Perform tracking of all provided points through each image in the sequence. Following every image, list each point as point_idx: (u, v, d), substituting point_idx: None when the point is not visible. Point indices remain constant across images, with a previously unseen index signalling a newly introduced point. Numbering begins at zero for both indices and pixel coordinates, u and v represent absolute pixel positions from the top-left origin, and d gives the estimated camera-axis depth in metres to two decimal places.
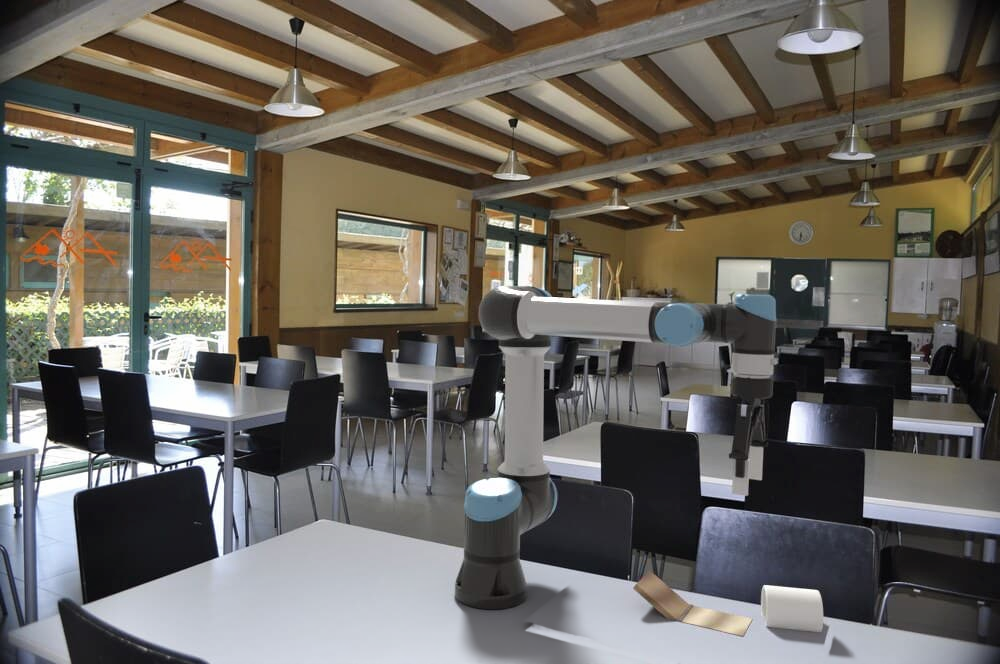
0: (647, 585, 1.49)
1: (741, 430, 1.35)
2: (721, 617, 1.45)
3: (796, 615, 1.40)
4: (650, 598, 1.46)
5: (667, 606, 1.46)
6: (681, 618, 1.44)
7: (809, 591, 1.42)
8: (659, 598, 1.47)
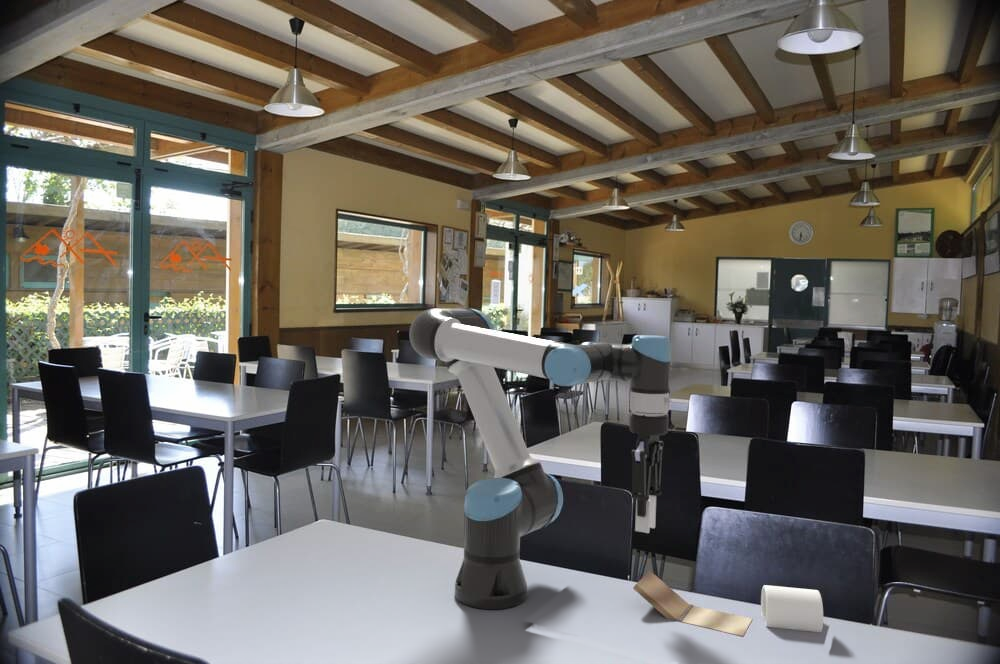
0: (647, 585, 1.49)
1: (638, 475, 1.45)
2: (721, 617, 1.45)
3: (796, 615, 1.40)
4: (650, 598, 1.46)
5: (667, 606, 1.46)
6: (681, 618, 1.44)
7: (809, 591, 1.42)
8: (659, 598, 1.47)
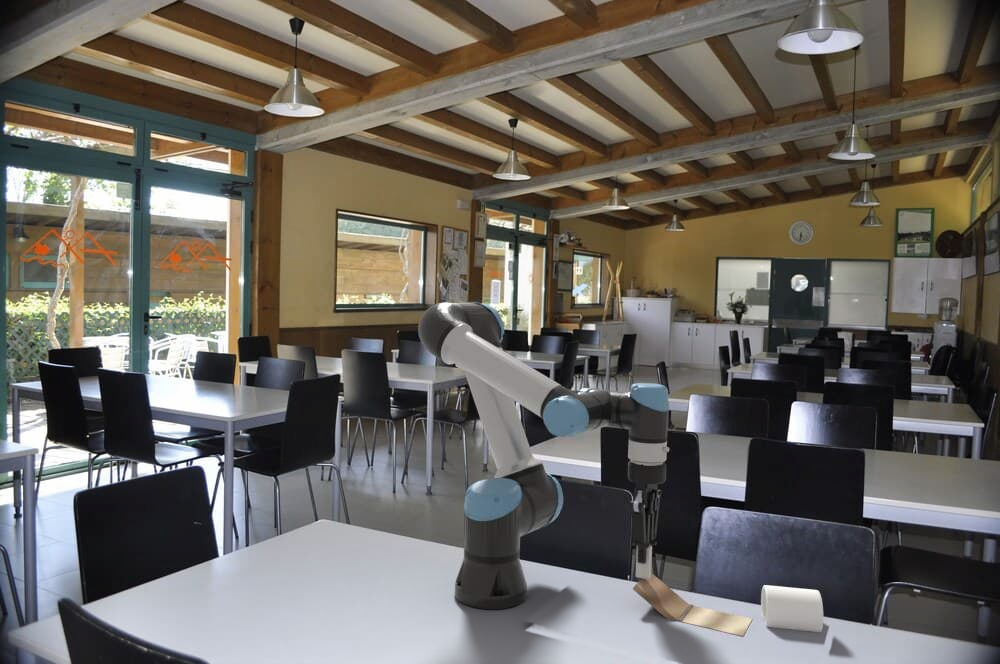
0: (647, 585, 1.49)
1: (637, 524, 1.46)
2: (721, 617, 1.45)
3: (796, 615, 1.40)
4: (650, 598, 1.46)
5: (666, 606, 1.46)
6: (681, 618, 1.44)
7: (809, 591, 1.42)
8: (659, 599, 1.47)
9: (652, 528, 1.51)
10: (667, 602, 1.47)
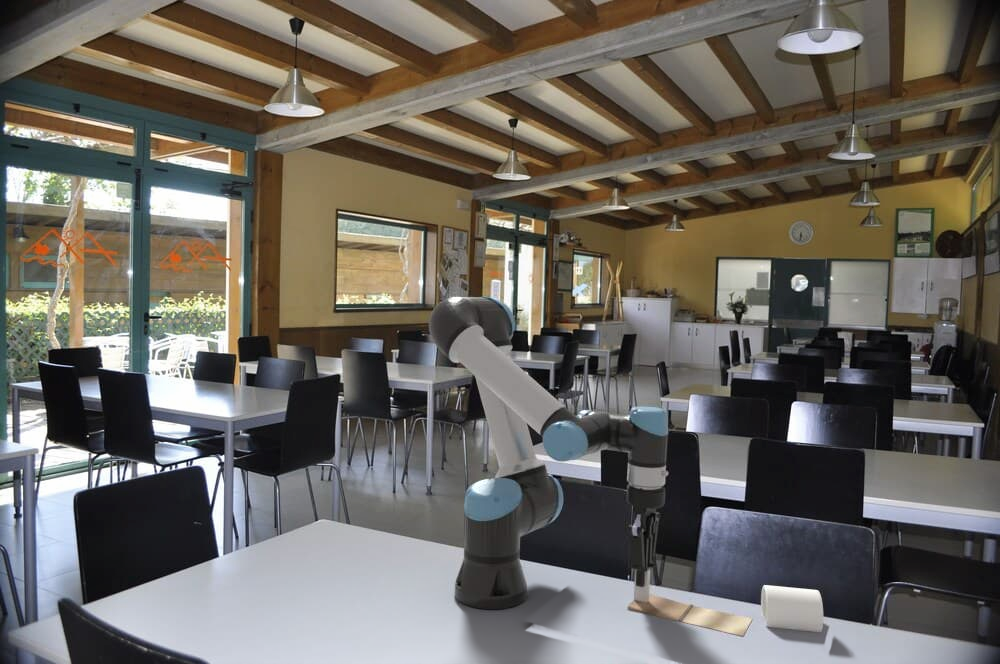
0: (640, 603, 1.50)
1: (636, 548, 1.46)
2: (721, 617, 1.45)
3: (796, 615, 1.40)
4: None
5: (664, 613, 1.46)
6: (681, 618, 1.44)
7: (809, 591, 1.42)
8: (655, 610, 1.47)
9: (650, 551, 1.51)
10: (664, 610, 1.48)
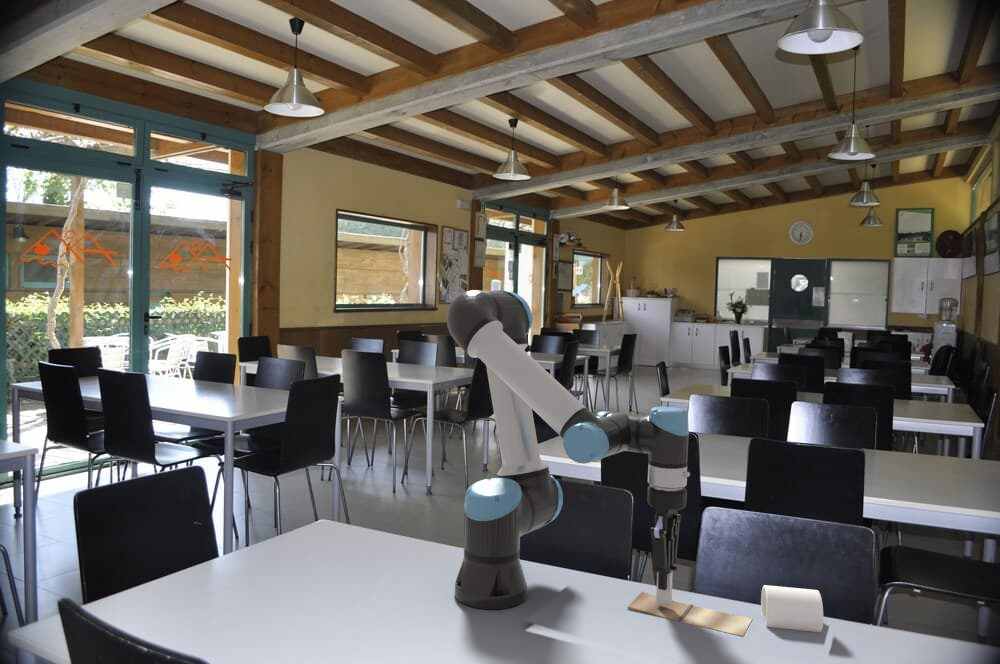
0: (640, 603, 1.50)
1: (658, 551, 1.44)
2: (721, 617, 1.45)
3: (796, 615, 1.40)
4: None
5: (664, 613, 1.46)
6: (681, 618, 1.44)
7: (809, 591, 1.42)
8: (655, 610, 1.47)
9: (672, 554, 1.49)
10: (664, 610, 1.48)
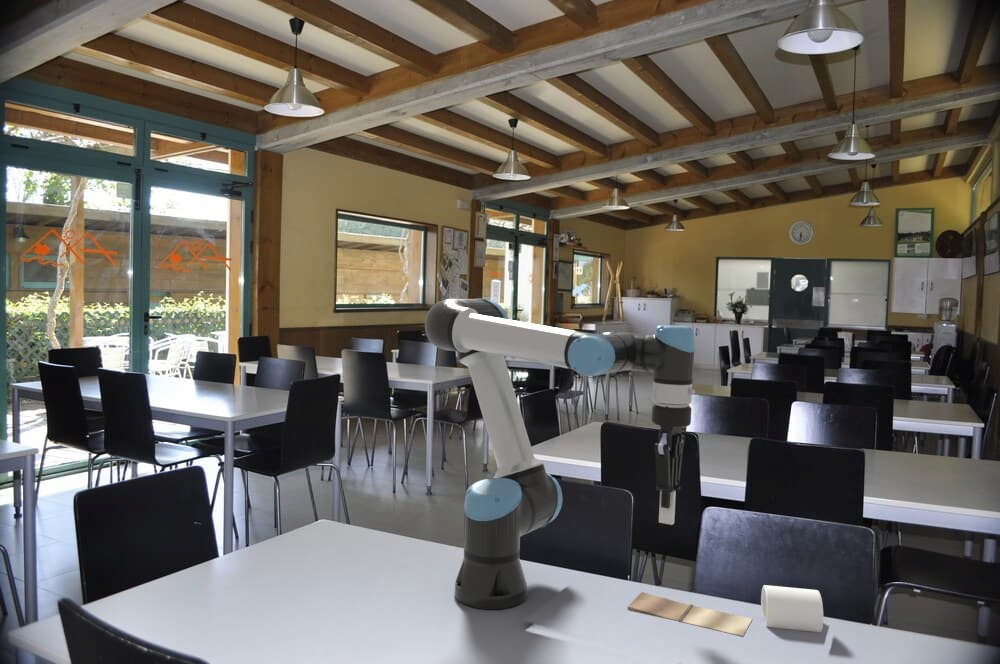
0: (640, 603, 1.50)
1: (662, 467, 1.43)
2: (721, 617, 1.45)
3: (796, 615, 1.40)
4: None
5: (664, 613, 1.46)
6: (681, 618, 1.44)
7: (809, 591, 1.42)
8: (655, 610, 1.47)
9: (676, 473, 1.48)
10: (664, 610, 1.48)
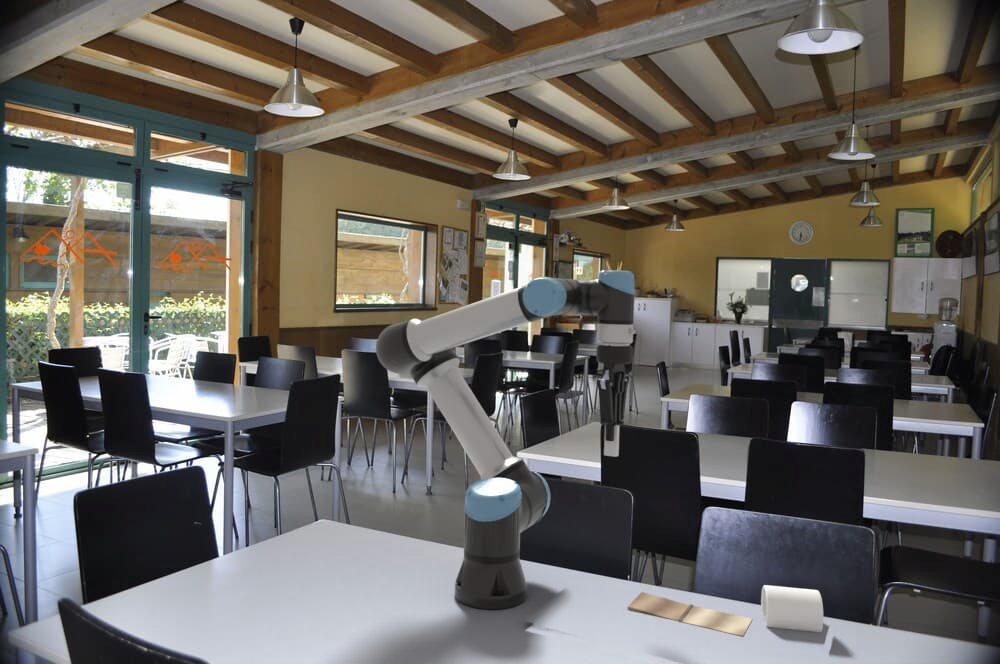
0: (640, 603, 1.50)
1: (604, 402, 1.54)
2: (721, 617, 1.45)
3: (796, 615, 1.40)
4: None
5: (664, 613, 1.46)
6: (681, 618, 1.44)
7: (809, 591, 1.42)
8: (655, 610, 1.47)
9: (620, 409, 1.58)
10: (664, 610, 1.48)
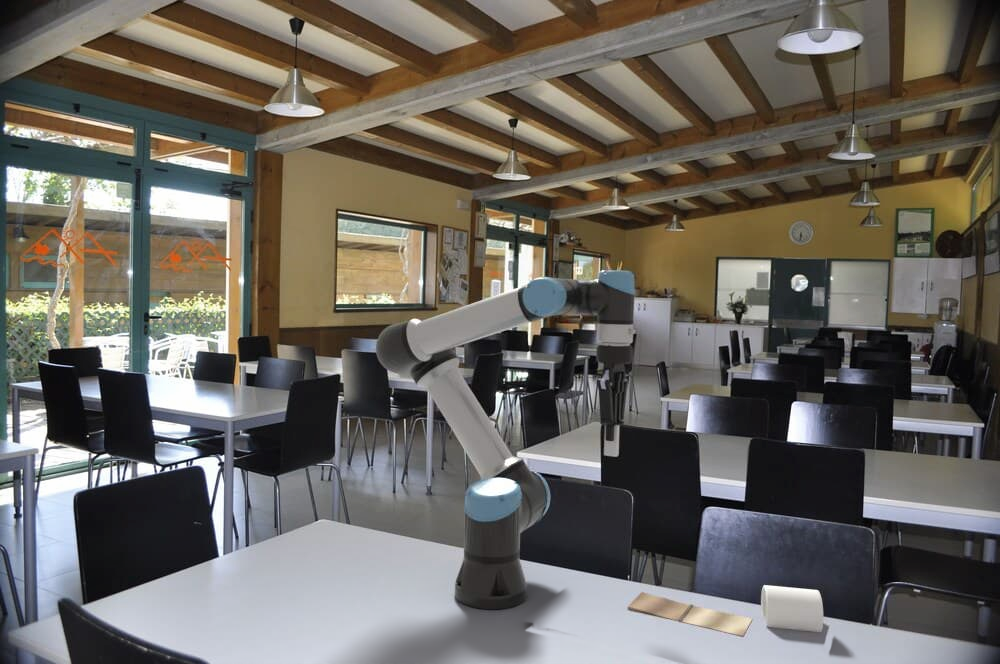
0: (640, 603, 1.50)
1: (604, 402, 1.54)
2: (721, 617, 1.45)
3: (796, 615, 1.40)
4: None
5: (664, 613, 1.46)
6: (681, 618, 1.44)
7: (809, 591, 1.42)
8: (655, 610, 1.47)
9: (619, 409, 1.58)
10: (664, 610, 1.48)
